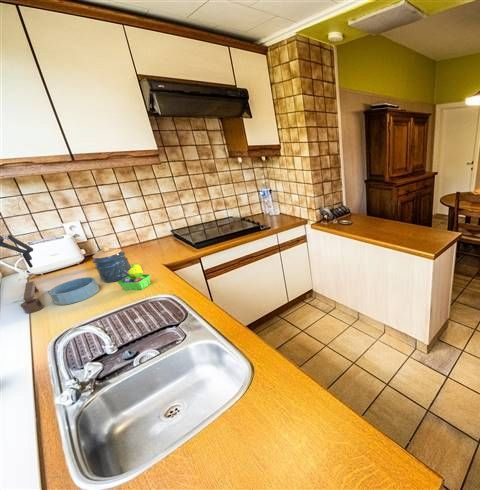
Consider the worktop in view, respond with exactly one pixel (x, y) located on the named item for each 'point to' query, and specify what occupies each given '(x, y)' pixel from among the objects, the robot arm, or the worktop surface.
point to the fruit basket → (135, 279)
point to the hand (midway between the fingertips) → (8, 272)
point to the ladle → (31, 299)
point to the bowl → (74, 291)
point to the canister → (111, 264)
